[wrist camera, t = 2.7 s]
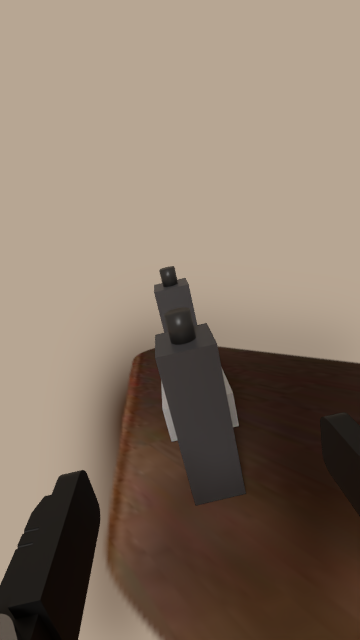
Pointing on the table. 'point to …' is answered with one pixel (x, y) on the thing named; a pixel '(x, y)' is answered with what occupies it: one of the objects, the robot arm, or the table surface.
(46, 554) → the robot arm
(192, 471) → the plug
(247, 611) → the table surface
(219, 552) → the table surface
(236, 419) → the grey rectangular tray
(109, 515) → the table surface
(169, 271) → the twin plug
